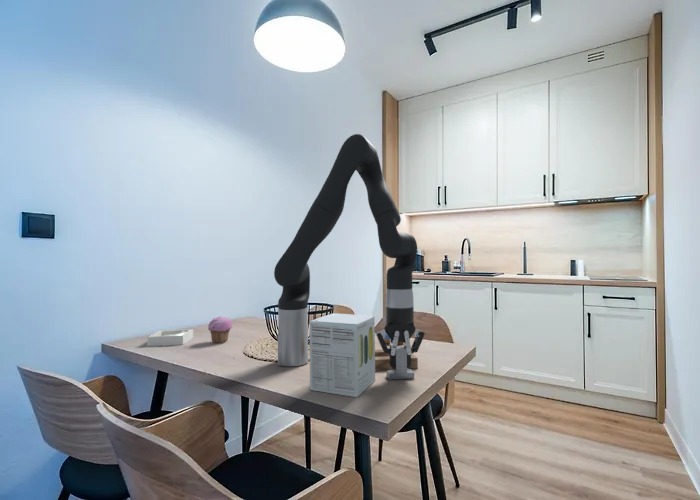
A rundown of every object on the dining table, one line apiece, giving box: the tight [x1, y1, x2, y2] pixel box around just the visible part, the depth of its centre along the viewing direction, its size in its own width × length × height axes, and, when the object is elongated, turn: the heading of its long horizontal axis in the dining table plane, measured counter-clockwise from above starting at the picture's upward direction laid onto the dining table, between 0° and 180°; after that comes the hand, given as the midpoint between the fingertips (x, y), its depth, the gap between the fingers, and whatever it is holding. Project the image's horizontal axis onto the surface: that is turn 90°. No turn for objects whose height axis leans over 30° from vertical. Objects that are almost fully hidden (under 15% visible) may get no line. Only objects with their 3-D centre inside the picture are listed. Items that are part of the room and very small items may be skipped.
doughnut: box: [384, 333, 404, 345], centre depth 141 cm, size 10×10×5 cm
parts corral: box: [146, 328, 194, 347], centre depth 145 cm, size 13×12×4 cm
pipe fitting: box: [164, 331, 186, 336], centre depth 145 cm, size 8×4×7 cm
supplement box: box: [309, 312, 376, 398], centre depth 95 cm, size 13×13×18 cm
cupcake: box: [207, 316, 233, 344], centre depth 143 cm, size 9×9×10 cm
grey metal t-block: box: [386, 345, 415, 381], centre depth 100 cm, size 7×3×8 cm, turn 97°
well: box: [375, 349, 419, 371], centre depth 112 cm, size 20×11×3 cm, turn 96°
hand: (400, 367), depth 100 cm, fingers closed on grey metal t-block, 3 cm apart
